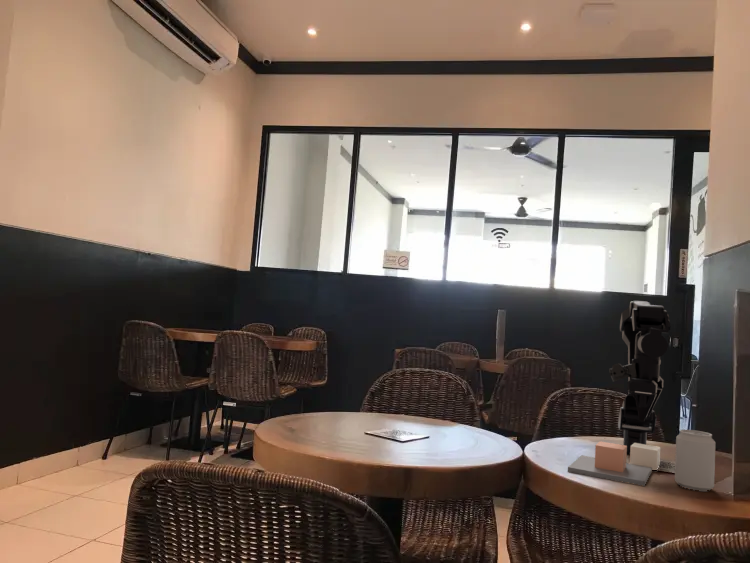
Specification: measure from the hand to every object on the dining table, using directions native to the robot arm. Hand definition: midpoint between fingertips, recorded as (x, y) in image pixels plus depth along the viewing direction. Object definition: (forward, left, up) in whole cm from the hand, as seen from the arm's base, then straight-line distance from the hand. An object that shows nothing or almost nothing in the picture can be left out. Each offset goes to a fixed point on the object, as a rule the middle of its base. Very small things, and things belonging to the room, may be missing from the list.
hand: (644, 418), depth 143 cm
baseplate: (+12, -5, -12) cm, 18 cm away
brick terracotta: (+12, -6, -11) cm, 17 cm away
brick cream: (-1, +1, -12) cm, 12 cm away
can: (+12, +12, -12) cm, 21 cm away
